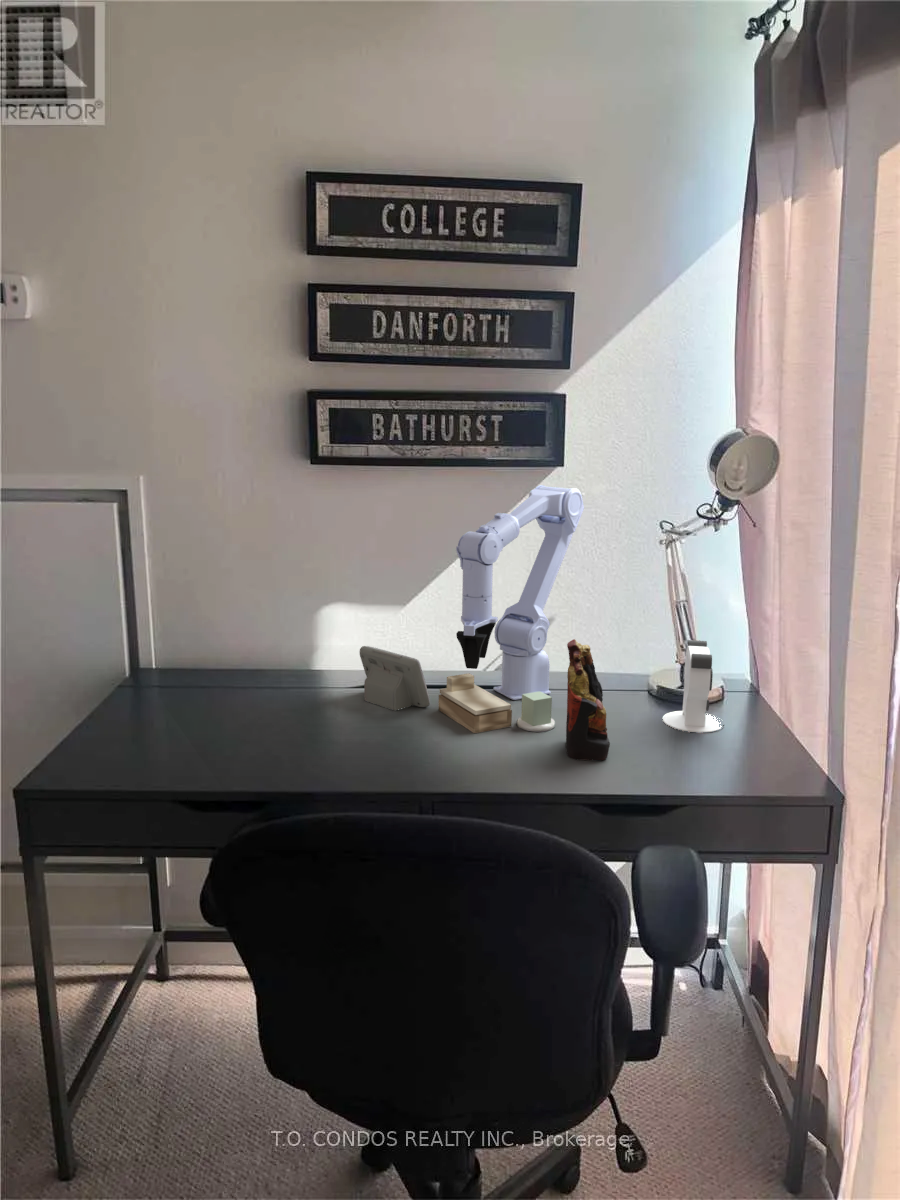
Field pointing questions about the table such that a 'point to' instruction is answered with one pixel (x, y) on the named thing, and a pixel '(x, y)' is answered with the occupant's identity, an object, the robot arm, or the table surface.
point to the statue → (584, 707)
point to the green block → (536, 708)
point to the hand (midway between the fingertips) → (475, 662)
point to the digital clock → (393, 679)
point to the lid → (472, 695)
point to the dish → (537, 728)
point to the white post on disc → (695, 692)
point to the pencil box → (475, 717)
